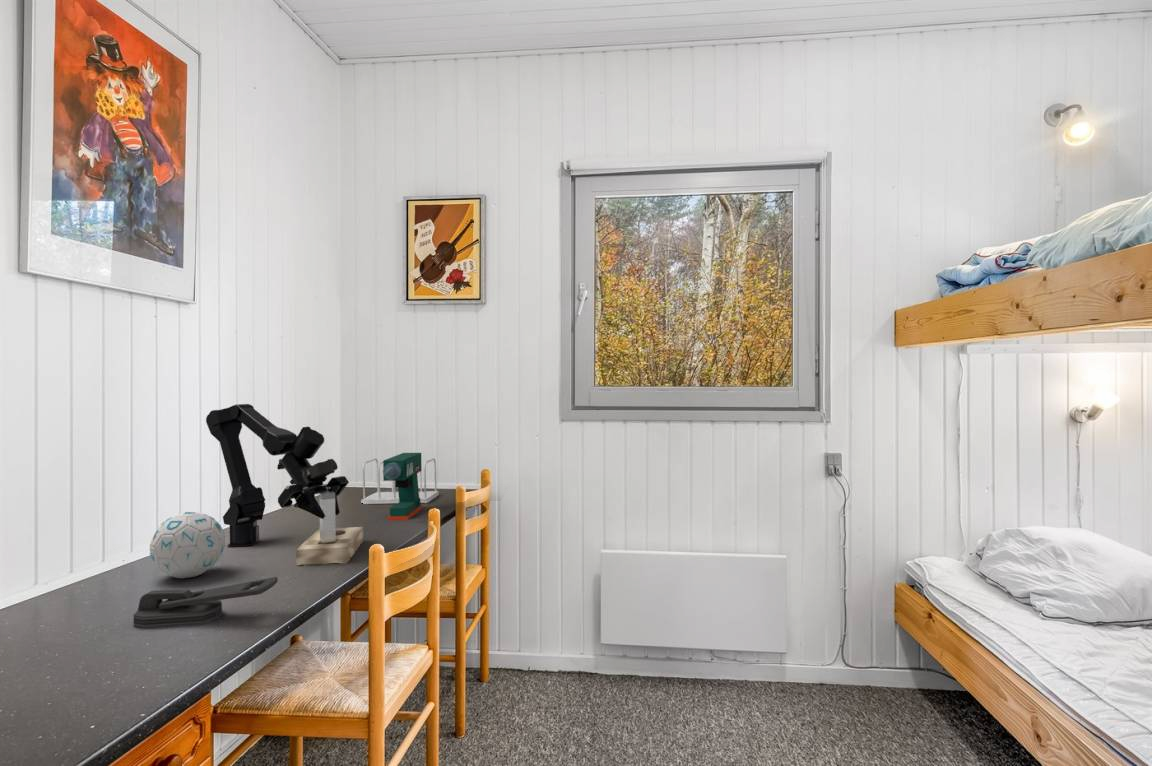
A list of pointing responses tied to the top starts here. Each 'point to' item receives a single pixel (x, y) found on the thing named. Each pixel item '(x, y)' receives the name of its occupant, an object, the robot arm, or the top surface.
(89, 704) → the top surface
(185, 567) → the puzzle ball
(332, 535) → the square bit
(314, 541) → the bore board
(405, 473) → the power tool
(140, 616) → the zipper pull
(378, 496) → the file sorter
